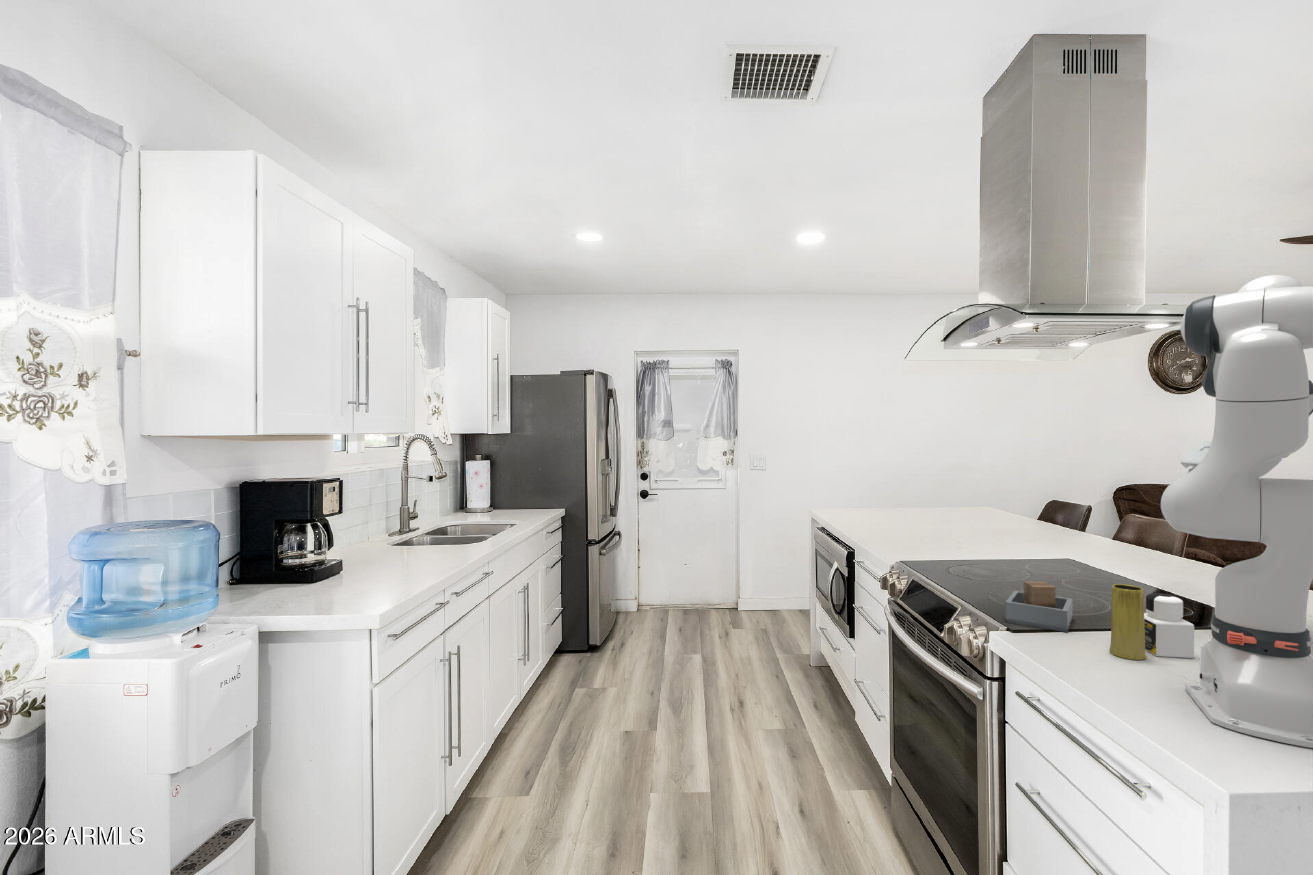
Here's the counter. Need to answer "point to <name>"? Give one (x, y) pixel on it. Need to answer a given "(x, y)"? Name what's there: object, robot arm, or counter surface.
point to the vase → (1128, 622)
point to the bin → (1039, 613)
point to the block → (1039, 594)
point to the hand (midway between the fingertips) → (1199, 484)
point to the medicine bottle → (1167, 627)
